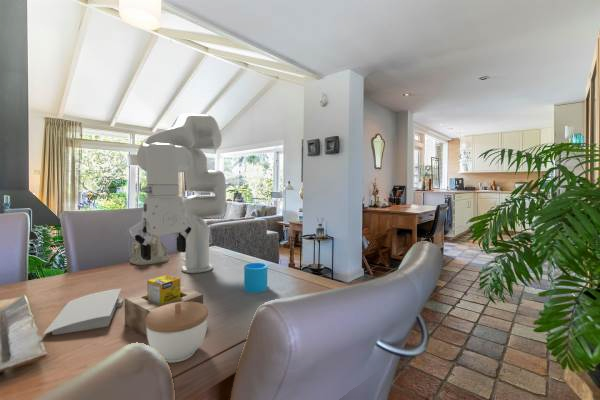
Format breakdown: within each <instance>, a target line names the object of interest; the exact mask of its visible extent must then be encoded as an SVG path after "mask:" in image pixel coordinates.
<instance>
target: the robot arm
mask: <svg viewBox="0 0 600 400" xmlns="http://www.w3.org/2000/svg"><path fill="white" fill-rule="evenodd" d="M141 142H142V143H141V144H140V145H139V147H138V149H137V153H136V162H137V163H136V164H137V165H138V167H139V168H140V169H141V170H143V171H145V172H146V185H145V187H142V189H141V192H142V193H143V194H146V196H145V197H144V199H143V200H144V201H143V204H142V211H141V212H142V213H141V220H140V221H139V222H138V223H135V224H134V225H133V226H131V227H129V228H128V232H129V233H130V235H131V236H132V239H134V240H135V241H137V242H138V243H139V244H140V247H141V257H142V258H143V259H145V260H150V259H151V245H149V244H148V243H149V242H150V240H151V241H152V239H154V238H156V237H159V236H160V237H163V236H170V235H176V234H177V237H176V251H178V252H179V253H180V252H181V253H185V257H184V258H183V259H182V262H184V265H183V266H181V271H182V272H184V273H187V274H199V273H200V274H201V273H205V272H208V271H211V270H213V267H214V265H213V264H212V263H211V262H210V229H209V225H208V223H206V221H205V220H204V219H220V218H223V217H224V216H225V215H226V212H227V192H226V191H227V189H226V186H227V184H226V177H225V174H224V172H223V171H221V170H219V169H218V170H217V169H208V159H207V155H206V154H205V153H204V151H202V149H203V150H204V149H205V150H216V149H219V148H220V146H221V144H222V133H221V130H220V127H219V124H218V122H217V121H216V119H215V117H213V116H212V115H209V114H199V113H198V114H195V113H183V114H181V115H178V116H177V117H176V119H175V120H174V121H173V123H172V125H171V127H170V128H168V129H167V128H166V129H165V130H161V131H159V132H156V133H153V134H150V135H148V136H147V137H145V138H144V140H143V141H141ZM179 173H185V185H186V188H187V190H188V191H189V192H191V193H206V194H207V193H210V194H211V193H212V194H214V195H190V196H189V195H188V196H187V197H184V199H183V196H181V195H180V193H179V192H180V191H179V190H180V185H179V184H180V183H179V180H180V179H179V178H180V177H179V175H180V174H179ZM140 230H141V231H142V232H143V235H142V234H141V235H140V234H139V231H140ZM142 232H141V233H142Z"/></svg>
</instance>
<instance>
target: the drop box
mask: <svg viewBox="0 0 600 400" xmlns="http://www.w3.org/2000/svg"><path fill="white" fill-rule="evenodd" d="M180 292H181V298H178V299H175V300H172V301H169V302H166V303H163V304H160V305H158V306H157V305H155V304H153V303H151V302H149V301H148V290H146V291H145V292H141V293H137V294H132V295H131V296H127V297H124V325H126V326H128V327H129V328H131V329H133V330H134V331H136V333H139V334H141V335H142V336H143V337H145V338H147V332H146V322H145V319H146V316H147V315H148V314H149V313H150V312H151V311H152V310H154V309H156V308H158V307H161V306H163V305H167V304H170V303H176V302H187V301H188V302H198V303H201V304H204V294H203V293H200V292H198V291H195V290H192V289H190V288H187V287H185V286H181V285H180Z"/></svg>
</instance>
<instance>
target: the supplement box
mask: <svg viewBox="0 0 600 400" xmlns="http://www.w3.org/2000/svg"><path fill="white" fill-rule="evenodd" d="M180 286H181V278H179V277H176V276H172V275H169V274H164V275H161V276H158V277H155V278H151V279H148V280H147V291H148V301H149V302H151V303H153V304H155V305H157V306H158V305H160V304H163V303H166V302H169V301H172V300H175V299H178V298H181V292H180Z"/></svg>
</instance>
